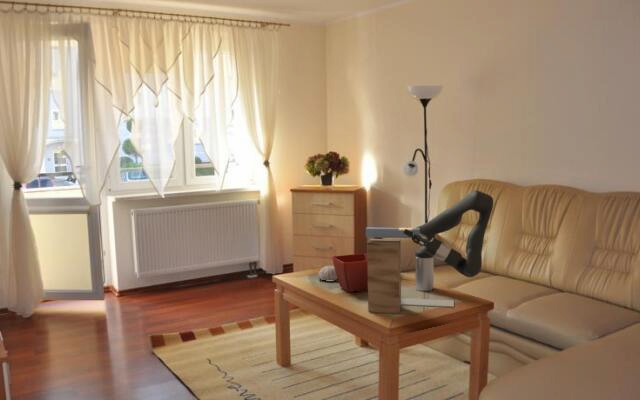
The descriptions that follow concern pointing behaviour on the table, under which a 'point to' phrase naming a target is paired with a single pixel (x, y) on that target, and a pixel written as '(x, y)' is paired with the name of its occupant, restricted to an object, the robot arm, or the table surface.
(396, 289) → the walnut stand
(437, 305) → the felt mat
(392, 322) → the table surface
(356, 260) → the plant pot
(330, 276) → the sea urchin shell
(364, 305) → the table surface
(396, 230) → the spaghetti box
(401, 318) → the table surface
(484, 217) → the robot arm
